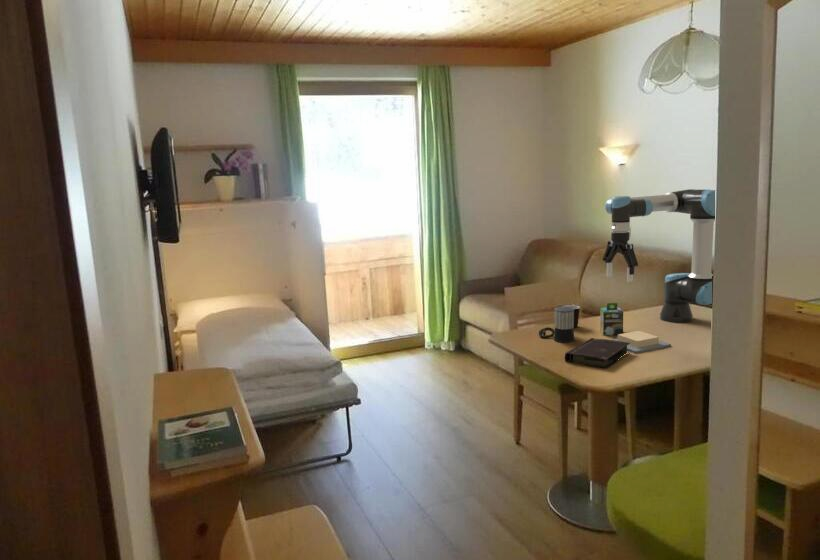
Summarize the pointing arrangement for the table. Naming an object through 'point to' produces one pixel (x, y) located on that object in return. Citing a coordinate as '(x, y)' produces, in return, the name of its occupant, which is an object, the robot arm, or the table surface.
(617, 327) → the chalk box
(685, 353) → the table surface
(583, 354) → the diary
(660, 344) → the board
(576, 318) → the coffee mug
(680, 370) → the table surface
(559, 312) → the milk frother
